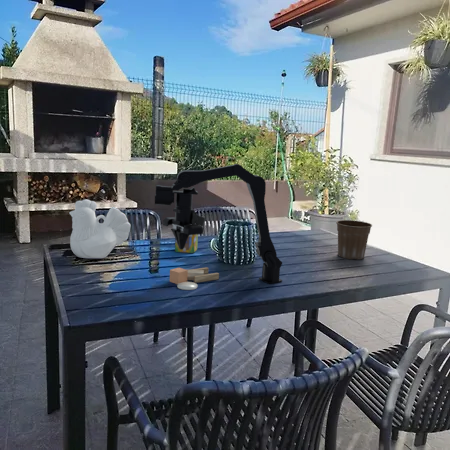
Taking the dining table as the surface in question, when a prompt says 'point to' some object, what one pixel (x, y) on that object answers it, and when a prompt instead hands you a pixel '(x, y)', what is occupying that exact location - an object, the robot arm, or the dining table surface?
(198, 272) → the beige rectangular block
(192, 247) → the chalk box
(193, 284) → the white flat disc
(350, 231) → the plant pot
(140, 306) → the dining table surface
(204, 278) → the channel
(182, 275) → the block
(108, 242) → the decorative rooster
